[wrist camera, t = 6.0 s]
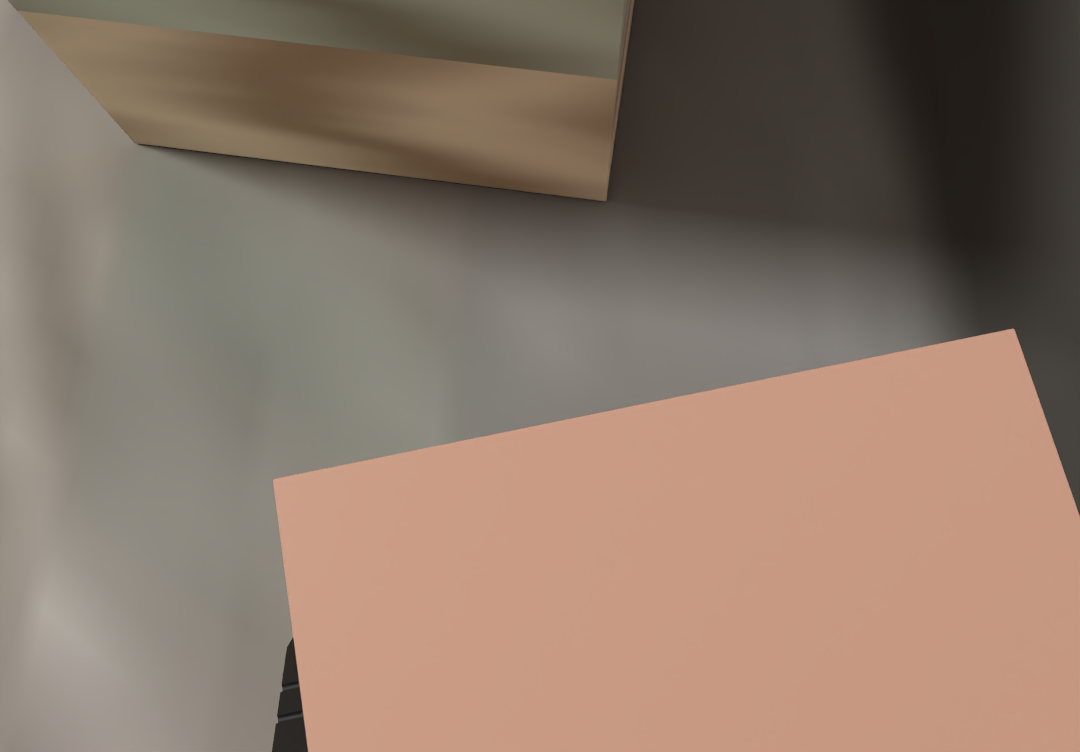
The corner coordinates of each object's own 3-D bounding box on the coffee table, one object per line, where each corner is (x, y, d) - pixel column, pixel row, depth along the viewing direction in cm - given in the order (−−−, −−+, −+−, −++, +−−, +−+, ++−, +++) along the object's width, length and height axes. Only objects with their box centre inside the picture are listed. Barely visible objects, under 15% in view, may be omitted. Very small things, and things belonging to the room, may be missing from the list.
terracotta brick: (743, 510, 16) (1014, 327, 6) (825, 828, 15) (1321, 1206, 5) (450, 571, 16) (273, 478, 6) (507, 897, 15) (394, 1423, 5)
